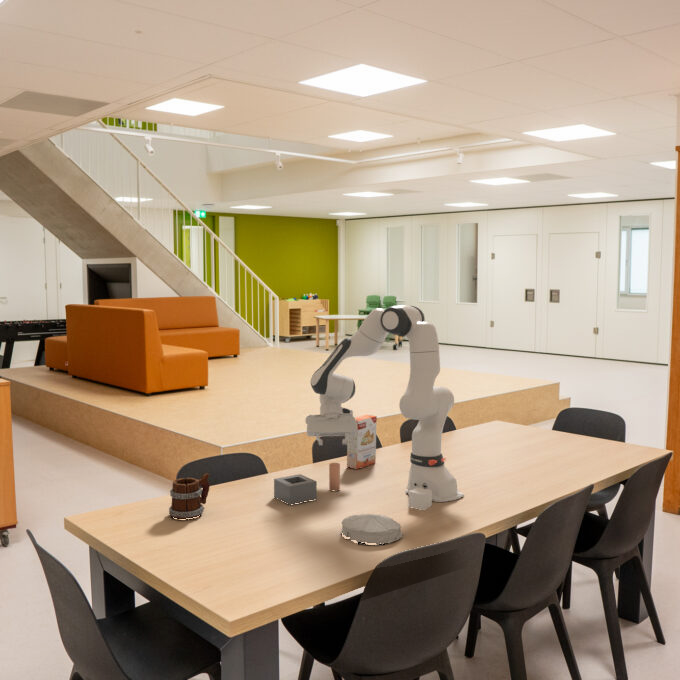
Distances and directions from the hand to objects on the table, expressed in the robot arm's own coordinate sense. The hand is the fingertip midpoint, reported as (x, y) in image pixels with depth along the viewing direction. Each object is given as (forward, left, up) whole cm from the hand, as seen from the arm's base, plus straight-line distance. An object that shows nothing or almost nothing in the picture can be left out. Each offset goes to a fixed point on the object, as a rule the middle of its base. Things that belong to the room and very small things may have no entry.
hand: (332, 444), depth 279 cm
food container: (-54, +22, -16) cm, 60 cm away
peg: (-10, +6, -15) cm, 19 cm away
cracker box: (+12, -23, -15) cm, 30 cm away
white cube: (-43, -8, -15) cm, 46 cm away
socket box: (-11, +24, -15) cm, 30 cm away
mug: (-5, +62, -15) cm, 64 cm away
